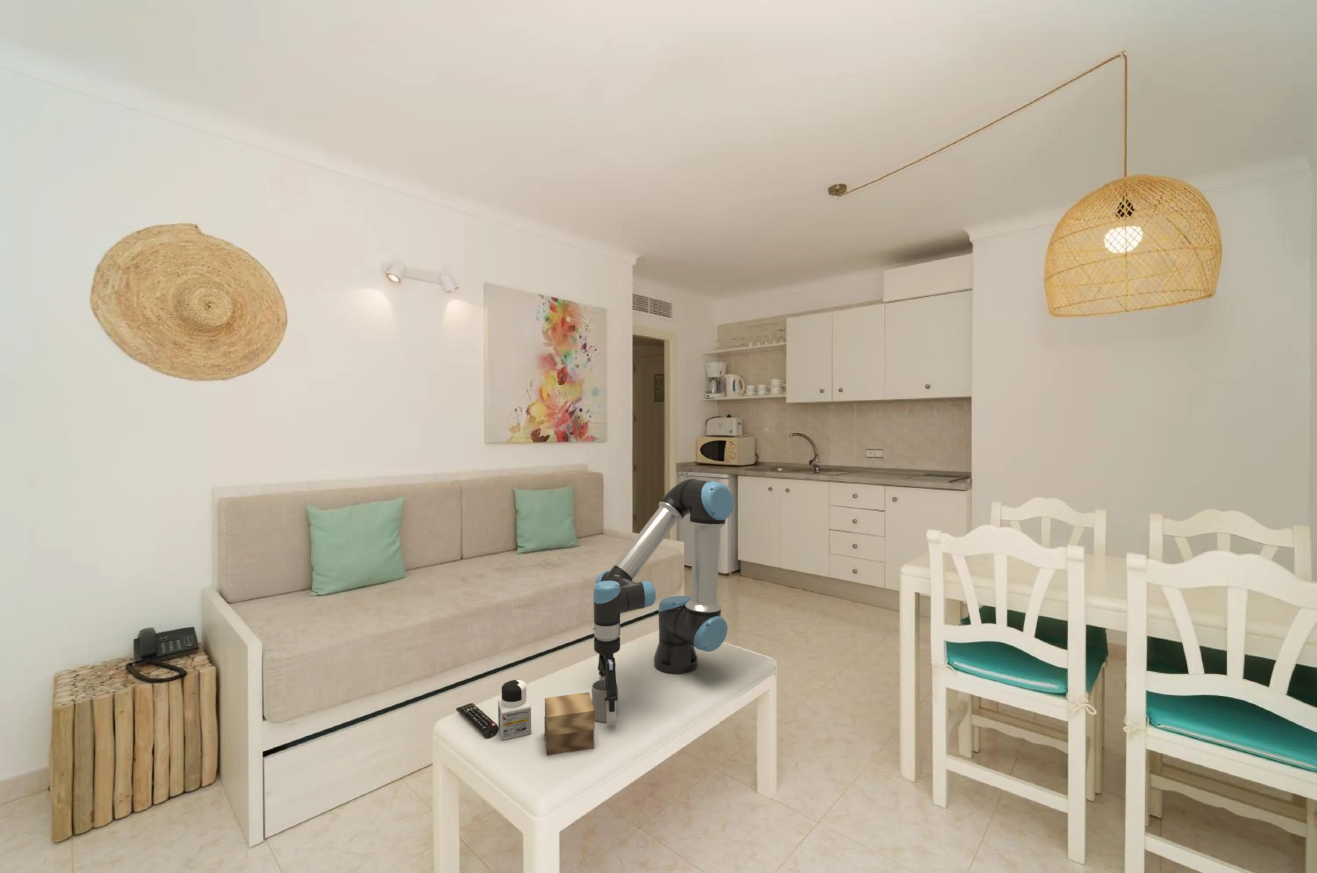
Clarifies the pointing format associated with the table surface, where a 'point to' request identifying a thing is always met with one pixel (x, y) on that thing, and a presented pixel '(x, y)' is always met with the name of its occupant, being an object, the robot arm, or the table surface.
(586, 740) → the slab lower
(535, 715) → the table surface
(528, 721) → the container
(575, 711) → the slab upper
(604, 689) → the cup
